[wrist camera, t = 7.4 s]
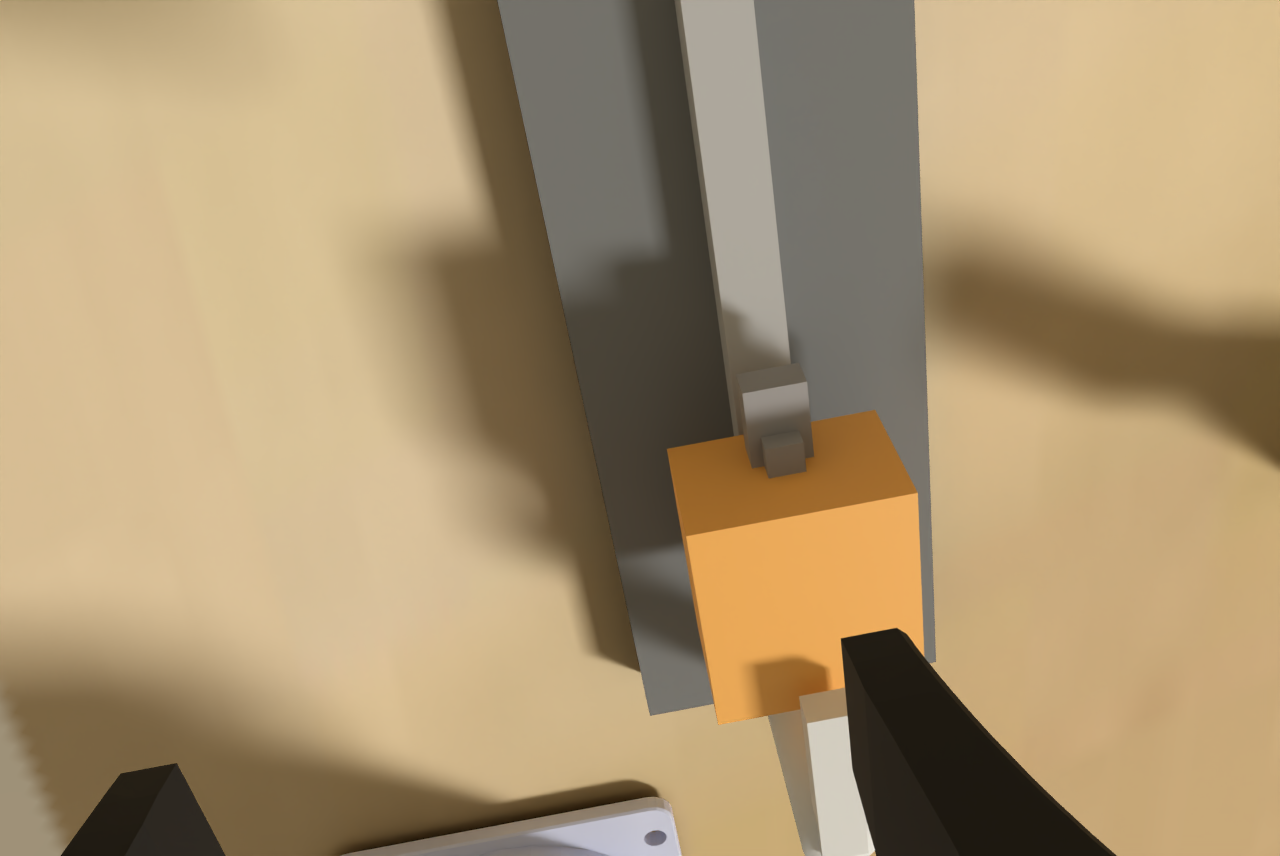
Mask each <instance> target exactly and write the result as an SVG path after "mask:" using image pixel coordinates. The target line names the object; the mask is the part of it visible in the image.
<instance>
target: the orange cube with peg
mask: <svg viewBox="0 0 1280 856" xmlns="http://www.w3.org/2000/svg"><path fill="white" fill-rule="evenodd" d="M736 380H737V388H738V395H739V403H740V410H741V418H742V426H743V433H744V435H738V436H733V437H728V438H722V439H717V440H712V441H706V442H701V443H696V444H690V445H685V446H680V447H674V448H669V449H667V453H668V458H669V464H670V470H671V476H672V481H673V487H674V493H675V499H676V505H677V510H678V516H679V522H680V528H681V533H682V539H683V545H684V551H685V556H686V562H687V568H688V574H689V579H690V585H691V591H692V597H693V602H694V608H695V614H696V620H697V625H698V631H699V635H700V640H701V645H702V649H703V654H704V659H705V664H706V668H707V673H708V678H709V683H710V687H711V692H712V697H713V701H714V706H715V711H716V716H717V720H718V725H720V724H725V723H731V722H736V721H741V720H747V719H752V718H757V717H763V716H768V715H773V714H779V713H784V712H789V711H794V710H800V700H799V696H803V695H808V694H813V693H819V692H824V691H829V690H835V689H840V688H845V682H844V670H843V659H842V648H841V638H845V637H850V636H856V635H861V634H866V633H871V632H877V631H882V630H887V629H893V628H898V629H900V630H901V631H903V632H904V633H906V634H907V635H908V636H909V637H910V639H911V640H912V642H913V643H914V644H915V646H916V647H917V648H918V650H919V651H920V652H921V653H922V655H923V656H924V635H923V610H922V585H921V560H920V535H919V510H918V492H917V490H916V488H915V486H914V484H913V483H912V481H911V479H910V477H909V475H908V473H907V471H906V469H905V467H904V465H903V463H902V461H901V459H900V457H899V455H898V453H897V451H896V449H895V447H894V446H893V444H892V442H891V440H890V438H889V436H888V434H887V432H886V430H885V428H884V426H883V424H882V422H881V420H880V418H879V416H878V414H877V412H876V411H875V410H871V411H866V412H861V413H855V414H850V415H845V416H839V417H834V418H829V419H823V420H818V421H813V422H811V418H810V408H809V397H808V386H807V380H806V378H805V376H804V374H803V371H802V369H801V367H800V364H799V363H794V364H789V365H783V366H778V367H773V368H767V369H762V370H757V371H751V372H746V373H741V374H736Z"/></svg>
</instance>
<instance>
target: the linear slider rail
mask: <svg viewBox="0 0 1280 856" xmlns="http://www.w3.org/2000/svg"><path fill="white" fill-rule="evenodd" d="M497 1H498V6H499V10H500V15H501V20H502V24H503V29H504V34H505V38H506V43H507V48H508V52H509V57H510V62H511V66H512V71H513V76H514V81H515V85H516V90H517V95H518V99H519V104H520V109H521V113H522V118H523V123H524V127H525V132H526V137H527V141H528V146H529V151H530V155H531V160H532V165H533V169H534V174H535V179H536V184H537V188H538V193H539V198H540V202H541V207H542V212H543V216H544V221H545V226H546V230H547V235H548V240H549V244H550V249H551V254H552V258H553V263H554V268H555V273H556V277H557V282H558V287H559V291H560V296H561V301H562V305H563V310H564V315H565V319H566V324H567V329H568V333H569V338H570V343H571V347H572V352H573V357H574V362H575V366H576V371H577V376H578V380H579V385H580V390H581V394H582V399H583V404H584V408H585V413H586V418H587V422H588V427H589V432H590V436H591V441H592V446H593V451H594V455H595V460H596V465H597V469H598V474H599V479H600V483H601V488H602V493H603V497H604V502H605V507H606V511H607V516H608V521H609V525H610V530H611V535H612V539H613V544H614V549H615V554H616V558H617V563H618V568H619V572H620V577H621V582H622V586H623V591H624V596H625V600H626V605H627V610H628V614H629V619H630V624H631V628H632V633H633V638H634V643H635V647H636V652H637V657H638V661H639V666H640V671H641V675H642V680H643V685H644V689H645V694H646V699H647V703H648V708H649V713H650V716H651V715H657V714H662V713H667V712H673V711H678V710H683V709H689V708H694V707H699V706H705V705H710V704H714V701H713V697H712V692H711V687H710V683H709V678H708V673H707V668H706V664H705V659H704V654H703V649H702V645H701V640H700V635H699V631H698V625H697V620H696V614H695V608H694V602H693V597H692V591H691V585H690V579H689V574H688V568H687V562H686V556H685V551H684V545H683V539H682V533H681V528H680V522H679V516H678V510H677V505H676V499H675V493H674V487H673V481H672V476H671V470H670V464H669V458H668V453H667V449H669V448H674V447H680V446H685V445H690V444H696V443H701V442H706V441H712V440H717V439H722V438H728V437H733V436H738V435H744V433H743V426H742V418H741V410H740V403H739V395H738V388H737V380H736V374H741V373H746V372H751V371H757V370H762V369H767V368H773V367H778V366H783V365H789V364H794V363H799V364H800V367H801V369H802V371H803V374H804V376H805V378H806V380H807V386H808V397H809V408H810V418H811V422H813V421H818V420H823V419H829V418H834V417H839V416H845V415H850V414H855V413H861V412H866V411H871V410H875V411H876V412H877V414H878V416H879V418H880V420H881V422H882V424H883V426H884V428H885V430H886V432H887V434H888V436H889V438H890V440H891V442H892V444H893V446H894V447H895V449H896V451H897V453H898V455H899V457H900V459H901V461H902V463H903V465H904V467H905V469H906V471H907V473H908V475H909V477H910V479H911V481H912V483H913V484H914V486H915V488H916V490H917V492H918V510H919V535H920V560H921V585H922V610H923V635H924V657H925V659H926V660H927V661H928V662H929V663H933V662H936V650H935V619H934V589H933V559H932V528H931V498H930V467H929V437H928V406H927V376H926V346H925V315H924V285H923V254H922V224H921V193H920V163H919V133H918V102H917V72H916V41H915V11H914V0H497ZM799 700H800V710H794V711H789V712H784V713H779V714H773V715H768V718H769V722H770V726H771V730H772V733H773V737H774V741H775V745H776V749H777V753H778V756H779V760H780V764H781V768H782V772H783V776H784V779H785V783H786V787H787V791H788V795H789V799H790V802H791V806H792V810H793V814H794V818H795V822H796V825H797V829H798V833H799V837H800V841H801V845H802V848H803V852H804V854H805V855H806V856H869V855H871V854H872V853H873V852H874V851H875V849H874V845H873V842H872V838H871V835H870V831H869V828H868V824H867V821H866V817H865V814H864V810H863V806H862V803H861V799H860V795H859V792H858V788H857V784H856V781H855V777H854V773H853V770H852V760H851V749H850V738H849V726H848V715H847V704H846V693H845V688H840V689H835V690H829V691H824V692H819V693H813V694H808V695H803V696H799Z"/></svg>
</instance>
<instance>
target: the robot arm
mask: <svg viewBox="0 0 1280 856" xmlns="http://www.w3.org/2000/svg"><path fill="white" fill-rule="evenodd" d="M841 648H842V659H843V670H844V682H845V693H846V704H847V715H848V726H849V738H850V749H851V760H852V770H853V773H854V777H855V781H856V784H857V788H858V792H859V795H860V799H861V803H862V806H863V810H864V814H865V817H866V821H867V824H868V828H869V831H870V835H871V838H872V842H873V845H874V849H875V852H876V856H1116V855H1115V854H1114V853H1113V852H1112V851H1111V850H1110V849H1108V848H1107V847H1106V846H1105V845H1104V844H1103V843H1102V842H1100V841H1099V840H1098V839H1097V838H1096V837H1095V836H1094V835H1092V834H1091V833H1090V832H1089V831H1088V830H1087V829H1086V828H1085V827H1084V826H1083V825H1082V824H1081V823H1079V822H1078V821H1077V820H1076V819H1075V818H1074V817H1073V816H1072V815H1071V814H1070V813H1069V812H1068V811H1066V810H1065V809H1064V808H1063V807H1062V806H1061V805H1060V804H1059V803H1058V802H1057V801H1056V800H1055V799H1054V798H1053V797H1052V796H1051V795H1050V794H1049V793H1048V792H1046V791H1045V790H1044V789H1043V788H1042V787H1041V786H1040V785H1039V784H1038V783H1037V782H1036V781H1035V780H1034V779H1033V778H1032V777H1031V776H1030V775H1029V774H1028V773H1027V772H1026V771H1025V770H1024V769H1023V768H1022V766H1021V765H1020V764H1019V763H1018V762H1017V761H1016V760H1015V759H1014V758H1013V757H1012V756H1011V755H1010V754H1009V753H1008V752H1007V751H1006V750H1005V749H1004V748H1003V747H1002V746H1001V745H1000V744H999V743H998V742H997V741H996V740H995V739H994V738H993V737H992V735H991V734H990V733H989V732H988V731H987V730H986V729H985V728H984V727H983V726H982V725H981V723H980V722H979V721H978V720H977V719H976V718H975V717H974V716H973V715H972V713H971V712H970V711H969V710H968V709H967V708H966V707H965V705H964V704H963V703H962V702H961V701H960V700H959V699H958V697H957V696H956V695H955V694H954V693H953V692H952V691H951V689H950V688H949V687H948V686H947V685H946V683H945V682H944V681H943V680H942V679H941V677H940V676H939V675H938V674H937V672H936V671H935V670H934V669H933V667H932V666H931V665H930V664H929V662H928V661H927V660H926V659H925V657H924V656H923V655H922V653H921V652H920V651H919V650H918V648H917V647H916V646H915V644H914V643H913V642H912V640H911V639H910V637H909V636H908V635H907V634H906V633H904V632H903V631H901V630H900V629H898V628H893V629H887V630H882V631H877V632H871V633H866V634H861V635H856V636H850V637H845V638H841ZM657 830H659V831H657ZM651 831H656V832H651ZM61 856H225V854H224V852H223V850H222V848H221V846H220V844H219V843H218V841H217V839H216V837H215V835H214V833H213V831H212V829H211V827H210V825H209V824H208V822H207V820H206V818H205V816H204V814H203V812H202V810H201V808H200V806H199V805H198V803H197V801H196V799H195V797H194V795H193V793H192V791H191V789H190V788H189V786H188V784H187V782H186V780H185V778H184V776H183V774H182V772H181V770H180V769H179V767H178V765H177V763H175V764H170V765H164V766H159V767H154V768H149V769H143V770H138V771H133V772H127V773H122V774H120V775H119V777H118V778H117V779H116V781H115V782H114V783H113V785H112V786H111V787H110V789H109V790H108V791H107V793H106V794H105V795H104V797H103V798H102V799H101V801H100V802H99V804H98V805H97V806H96V808H95V809H94V810H93V812H92V813H91V815H90V816H89V817H88V819H87V820H86V821H85V823H84V824H83V826H82V827H81V828H80V830H79V831H78V832H77V834H76V835H75V837H74V838H73V839H72V841H71V842H70V844H69V845H68V846H67V848H66V849H65V850H64V852H63V853H62V855H61ZM341 856H682V854H681V849H680V844H679V840H678V835H677V830H676V825H675V821H674V816H673V811H672V807H671V805H670V804H669V802H667V801H666V800H664V799H662V798H658V797H645V798H640V799H634V800H629V801H624V802H618V803H613V804H608V805H602V806H597V807H592V808H587V809H581V810H576V811H571V812H565V813H560V814H555V815H549V816H544V817H539V818H533V819H528V820H523V821H517V822H512V823H507V824H502V825H496V826H491V827H486V828H480V829H475V830H470V831H464V832H459V833H454V834H448V835H443V836H438V837H432V838H427V839H422V840H417V841H411V842H406V843H401V844H395V845H390V846H385V847H379V848H374V849H369V850H363V851H358V852H353V853H348V854H344V855H341Z"/></svg>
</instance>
